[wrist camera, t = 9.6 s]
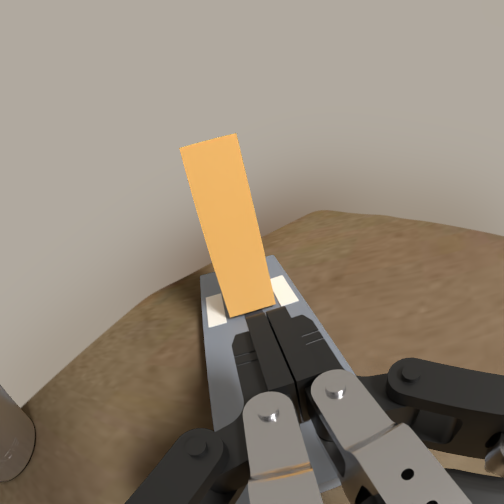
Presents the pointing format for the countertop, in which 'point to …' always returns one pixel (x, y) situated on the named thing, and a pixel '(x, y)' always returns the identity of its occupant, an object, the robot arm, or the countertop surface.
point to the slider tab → (229, 222)
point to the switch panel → (224, 368)
